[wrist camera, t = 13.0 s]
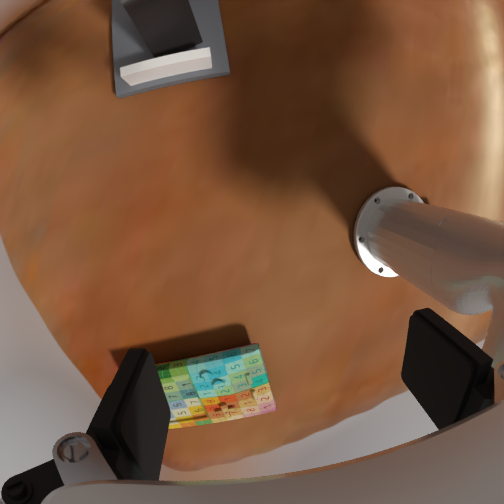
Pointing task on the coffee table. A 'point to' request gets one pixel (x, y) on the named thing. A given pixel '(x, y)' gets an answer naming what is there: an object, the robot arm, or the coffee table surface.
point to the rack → (170, 66)
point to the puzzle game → (217, 387)
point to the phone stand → (164, 25)
